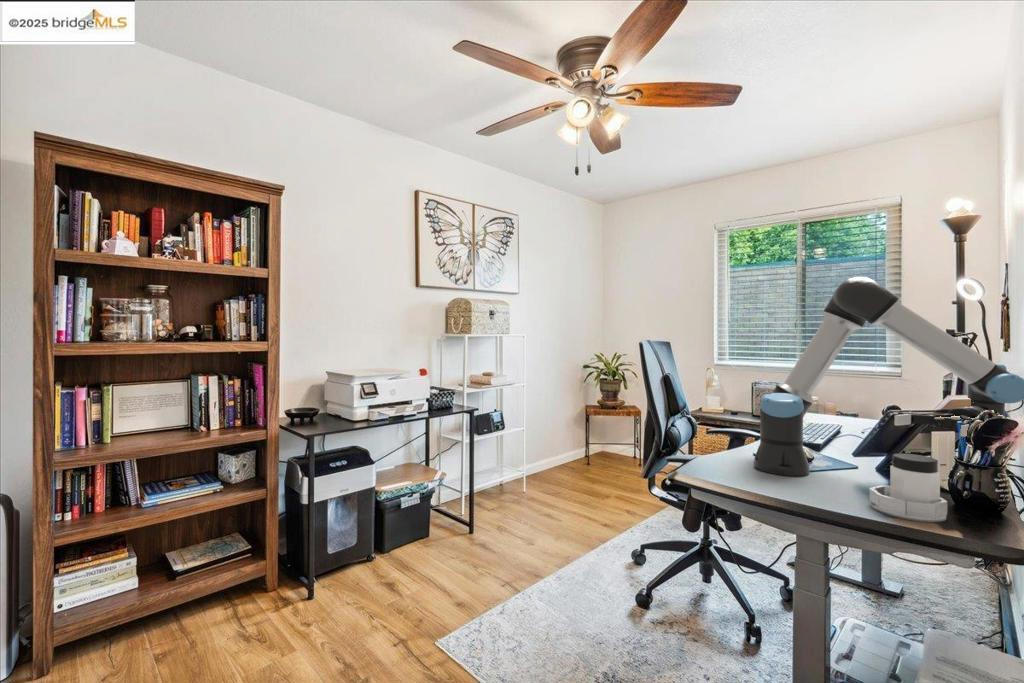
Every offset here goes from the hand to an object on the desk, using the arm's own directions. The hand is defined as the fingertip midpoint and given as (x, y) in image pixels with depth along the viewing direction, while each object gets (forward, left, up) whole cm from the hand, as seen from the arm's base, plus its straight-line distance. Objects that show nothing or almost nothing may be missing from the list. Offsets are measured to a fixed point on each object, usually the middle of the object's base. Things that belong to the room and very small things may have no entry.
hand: (927, 425), depth 118 cm
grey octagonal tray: (+2, -13, -19) cm, 23 cm away
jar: (+3, -12, -18) cm, 22 cm away
